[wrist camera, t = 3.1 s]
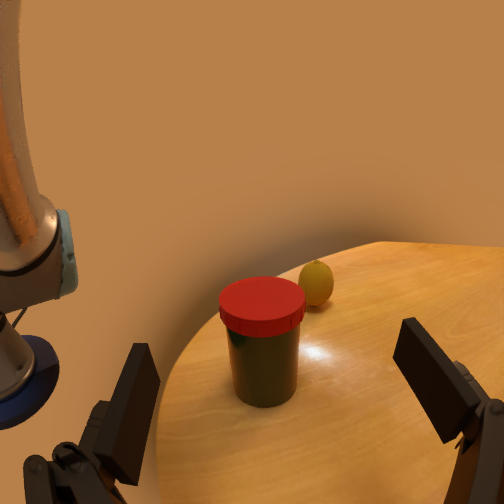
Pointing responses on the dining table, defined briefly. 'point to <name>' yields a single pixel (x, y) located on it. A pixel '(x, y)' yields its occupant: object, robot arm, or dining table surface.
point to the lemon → (316, 282)
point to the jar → (264, 367)
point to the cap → (262, 306)
